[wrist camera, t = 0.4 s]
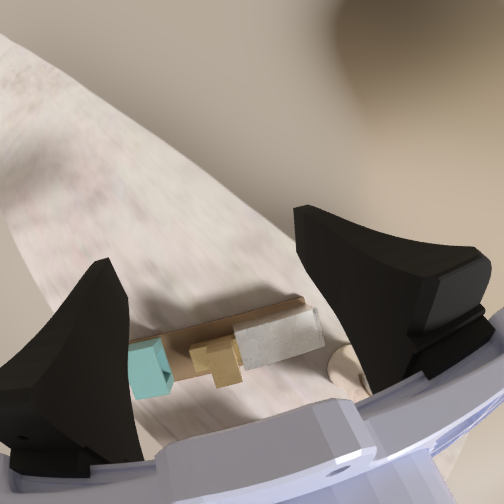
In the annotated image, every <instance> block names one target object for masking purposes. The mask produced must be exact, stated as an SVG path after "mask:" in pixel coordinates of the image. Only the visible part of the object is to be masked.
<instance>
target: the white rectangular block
mask: <svg viewBox="0 0 504 504" xmlns="http://www.w3.org/2000/svg"><path fill="white" fill-rule="evenodd" d="M232 325H233V329H234V334H235V337H236V340H237V344H238V347H239V351H240V354H241V358H242V361H243V364H244V368H245V371H247V370H250V369H254V368H258V367H261V366H264V365H268V364H271V363H275V362H278V361H281V360H285V359H288V358H291V357H294V356H297V355H300V354H304V353H307V352H310V351H313V350H316V349H319V348H321V347H324V346H325V342H324V337H323V333H322V328H321V324H320V320H319V316H318V312H317V308H315V307H313V306H310V305H308V304H302V305H299V306H295V307H292V308H289V309H285V310H282V311H279V312H275V313H272V314H268V315H265V316H261V317H258V318H254V319H251V320H247V321H243V322H240V323H236V324H232Z"/></svg>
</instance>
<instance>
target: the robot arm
mask: <svg viewBox="0 0 504 504" xmlns="http://www.w3.org/2000/svg"><path fill="white" fill-rule="evenodd" d="M293 211H294V224H295V236H296V237H295V238H296V252H297V254H298V256H299V258H300V260H301V262H302V264H303V266H304V268H305V270H306V272H307V273H308V275H309V276H310V278H311V279H312V281H313V282H314V284H315V285H316V287H317V288H318V289H319V291H320V292H321V294H322V295H323V297H324V298H325V299H326V301H327V302H328V304H329V305H330V307H331V308H332V310H333V311H334V313H335V314H336V316H337V318H338V319H339V321H340V323H341V325H342V327H343V329H344V331H345V333H346V335H347V337H348V339H349V341H350V343H351V345H352V347H353V349H354V351H355V354H356V356H357V358H358V360H359V362H360V365H361V367H362V370H363V372H364V374H365V377H366V379H367V382H368V384H369V387H370V390H371V392H372V396H370V397H368V398H366V399H363V400H361V401H359V402H357V403H353V401H352V400H347V399H336V398H330V399H327V400H323V401H319V402H315V403H311V404H307V405H305V406H302V407H299V408H296V409H293V410H290V411H287V412H284V413H281V414H278V415H275V416H271V417H268V418H265V419H261V420H258V421H254V422H251V423H247V424H244V425H240V426H236V427H232V428H228V429H224V430H220V431H216V432H212V433H207V434H203V435H198V436H193V437H189V438H186V439H183V440H179V441H176V442H173V443H169V444H168V445H167V446H165V447H164V448H163V449H162V450H161V451H159V452H158V454H156V455H155V460H148V461H144V457H143V454H142V450H141V447H140V443H139V439H138V435H137V430H136V426H135V421H134V415H133V410H132V404H131V397H130V389H129V380H128V347H129V323H130V318H129V304H128V297H127V295H126V293H125V291H124V289H123V287H122V285H121V283H120V280H119V278H118V276H117V274H116V272H115V270H114V268H113V266H112V264H111V261H110V259H109V257H108V258H105V259H101V260H98V261H95V262H94V263H93V264H92V265H91V266H90V267H89V268H88V270H87V271H86V272H85V274H84V275H83V276H82V278H81V279H80V280H79V282H78V283H77V285H76V286H75V287H74V289H73V290H72V291H71V293H70V294H69V296H68V297H67V298H66V300H65V301H64V302H63V303H62V305H61V306H60V307H59V309H58V310H57V311H56V313H55V314H54V315H53V317H52V318H51V319H50V320H49V321H48V322H47V324H46V325H45V326H44V327H43V328H42V329H41V330H40V331H39V333H38V334H37V335H36V336H35V337H34V338H33V339H32V340H31V341H30V342H29V343H28V344H27V345H26V346H25V347H24V348H23V349H22V350H21V351H20V352H18V353H17V354H16V355H15V356H14V357H13V358H12V359H11V360H9V361H8V362H7V363H6V364H4V365H3V366H2V367H1V368H0V442H2V443H3V444H5V445H6V446H8V447H9V448H11V453H10V456H8V455H5V454H2V453H0V504H457V502H456V500H455V498H454V497H453V495H452V493H451V491H450V489H449V487H448V486H447V484H446V482H445V480H444V478H443V477H442V475H441V473H440V471H439V469H438V468H437V466H436V464H435V462H434V461H433V459H432V458H433V457H434V456H436V455H437V454H439V453H440V452H441V451H443V450H444V449H446V448H447V447H449V446H450V445H451V444H453V443H454V442H455V441H457V440H458V439H459V438H461V437H462V436H463V435H465V434H466V433H467V432H469V431H470V430H471V429H472V428H474V427H475V426H476V425H477V424H478V423H480V422H481V421H482V420H483V419H485V418H486V417H487V416H488V415H489V414H490V413H492V412H493V411H494V410H495V409H496V408H497V407H498V406H499V405H501V404H502V403H503V402H504V307H503V308H502V309H500V310H499V311H497V312H496V313H495V314H494V315H492V317H491V318H490V319H489V320H487V319H486V318H485V317H484V316H483V314H485V308H484V307H483V306H482V305H481V304H480V302H481V300H482V297H483V295H484V293H485V290H486V288H487V285H488V283H489V280H490V276H491V270H492V267H491V262H490V260H489V259H488V258H487V257H486V256H484V255H483V254H482V253H481V252H480V251H479V250H477V249H476V248H475V247H470V246H448V245H439V244H431V243H424V242H418V241H413V240H408V239H404V238H399V237H395V236H392V235H388V234H385V233H381V232H378V231H374V230H372V229H369V228H366V227H364V226H361V225H358V224H355V223H353V222H350V221H348V220H345V219H343V218H341V217H338V216H336V215H334V214H331V213H329V212H326V211H324V210H322V209H319V208H317V207H314V206H310V205H305V206H300V207H296V208H293Z"/></svg>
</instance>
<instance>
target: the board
mask: <svg viewBox="0 0 504 504" xmlns="http://www.w3.org/2000/svg"><path fill="white" fill-rule="evenodd" d="M302 304H305V300H304V297H302V296H301V297H298V298H295V299H291V300H288V301H284V302H281V303H278V304H274V305H271V306H267V307H264V308H260V309H256V310H253V311H249V312H246V313H242V314H238V315H235V316H231V317H227V318H223V319H220V320H216V321H212V322H208V323H204V324H200V325H196V326H192V327H188V328H184V329H180V330H176V331H172V332H168V333H163V334H159V335H155V336H150V337H146V338H142V339H137V340H133V341H129V345H130V344H133V343H137V342H142V341H146V340H151V339H155V338H161V342H162V345H163V348H164V351H165V354H166V357H167V360H168V363H169V366H170V369H171V372H172V375H173V377H174V382H175V381H180V380H184V379H189V378H193V377H198V376H202V375H206V374H210V373H211V370H210V369H209V370H204V371H200V372H196V371H195V368H194V365H193V362H192V358H191V355H190V352H189V349H190V346H191V345H192V344H196V343H200V342H204V341H208V340H212V339H216V338H220V337H224V336H227V335H231V334H234V329H233V325H232V324H236V323H240V322H243V321H247V320H251V319H254V318H258V317H261V316H265V315H268V314H272V313H275V312H279V311H282V310H285V309H289V308H292V307H295V306H299V305H302ZM238 364H239V366H242V365H244V364H243V361H240V362H238Z"/></svg>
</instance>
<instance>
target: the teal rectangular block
mask: <svg viewBox="0 0 504 504" xmlns="http://www.w3.org/2000/svg"><path fill="white" fill-rule="evenodd" d="M128 380H129V383H130V386H131V389H132V391H133V394H134V396H135V399H136V400H139V399H145V398H151V397H156V396H162V395H167V394H169V393H170V390H171V388H172V385H173V382H174V377H173V375H172V372H171V369H170V366H169V363H168V360H167V357H166V354H165V351H164V348H163V345H162V342H161V338H155V339H151V340H146V341H142V342H137V343H133V344H130V345H129V347H128Z"/></svg>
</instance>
